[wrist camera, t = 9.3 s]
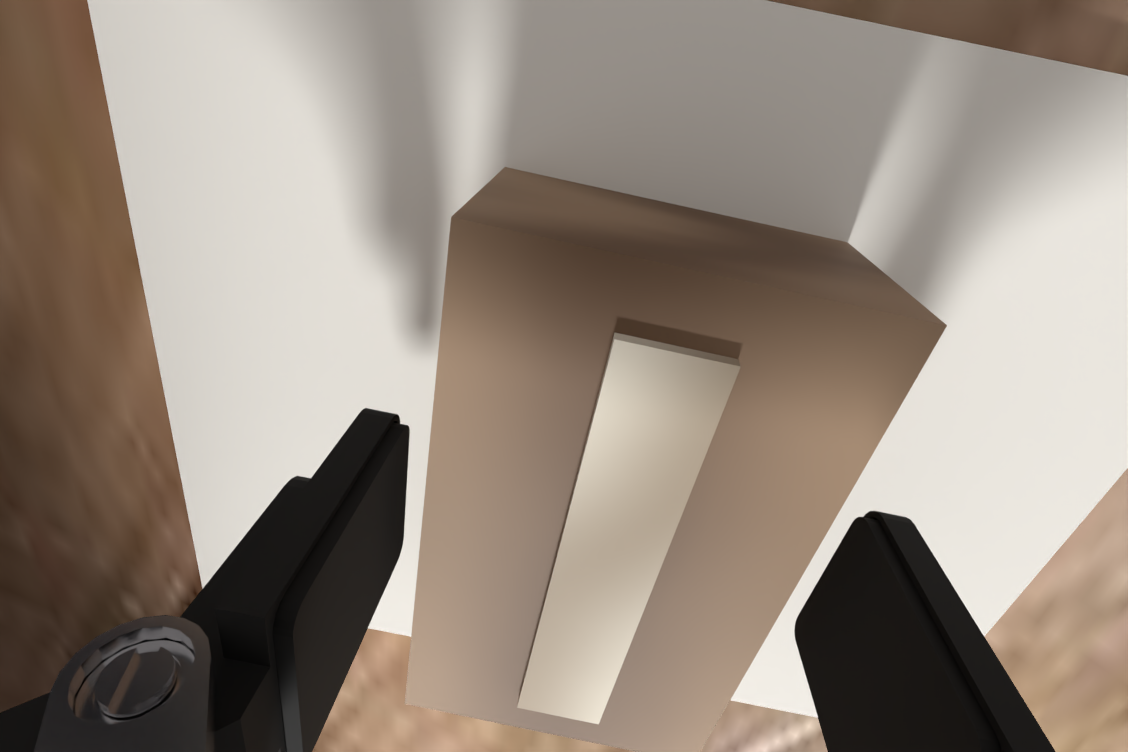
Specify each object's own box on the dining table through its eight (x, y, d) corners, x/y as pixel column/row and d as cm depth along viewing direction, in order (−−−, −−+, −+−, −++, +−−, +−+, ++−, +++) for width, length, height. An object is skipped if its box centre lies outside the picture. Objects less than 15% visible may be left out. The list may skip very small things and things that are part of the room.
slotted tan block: (847, 242, 10) (956, 331, 7) (679, 617, 15) (695, 774, 12) (505, 166, 10) (446, 221, 7) (450, 569, 15) (401, 713, 11)
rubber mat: (892, 713, 17) (901, 734, 16) (217, 578, 17) (203, 595, 16) (1364, 130, 9) (1411, 134, 8) (92, -136, 9) (58, -148, 8)
